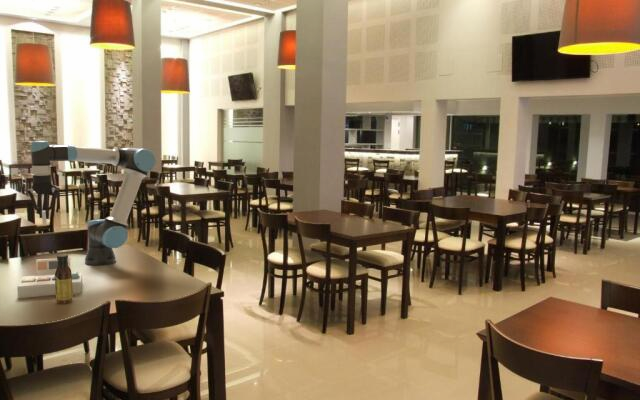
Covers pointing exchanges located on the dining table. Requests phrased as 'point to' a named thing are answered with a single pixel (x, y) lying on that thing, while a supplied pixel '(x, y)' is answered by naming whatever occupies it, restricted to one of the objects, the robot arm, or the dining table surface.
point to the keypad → (44, 286)
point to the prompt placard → (47, 266)
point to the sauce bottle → (63, 280)
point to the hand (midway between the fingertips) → (44, 224)
